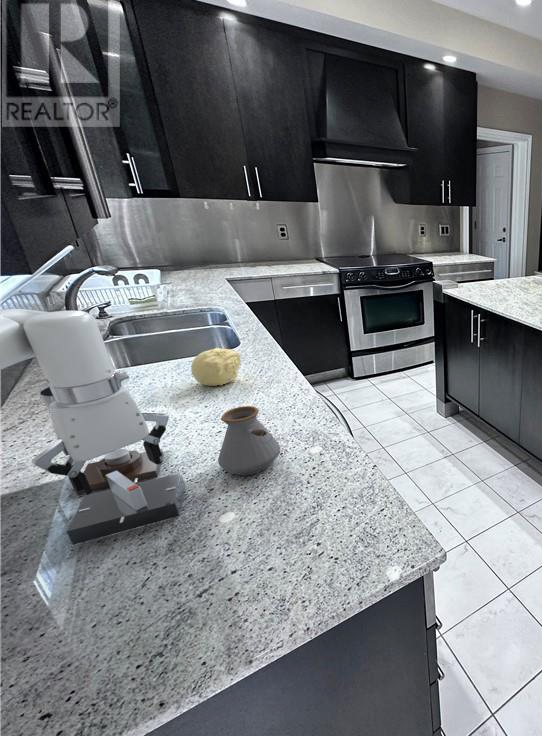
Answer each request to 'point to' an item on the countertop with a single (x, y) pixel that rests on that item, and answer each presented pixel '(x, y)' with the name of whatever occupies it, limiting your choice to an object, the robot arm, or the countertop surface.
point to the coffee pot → (246, 443)
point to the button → (117, 457)
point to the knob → (126, 490)
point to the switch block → (121, 470)
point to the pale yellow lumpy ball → (216, 366)
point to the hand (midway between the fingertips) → (122, 475)
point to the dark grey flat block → (126, 509)
